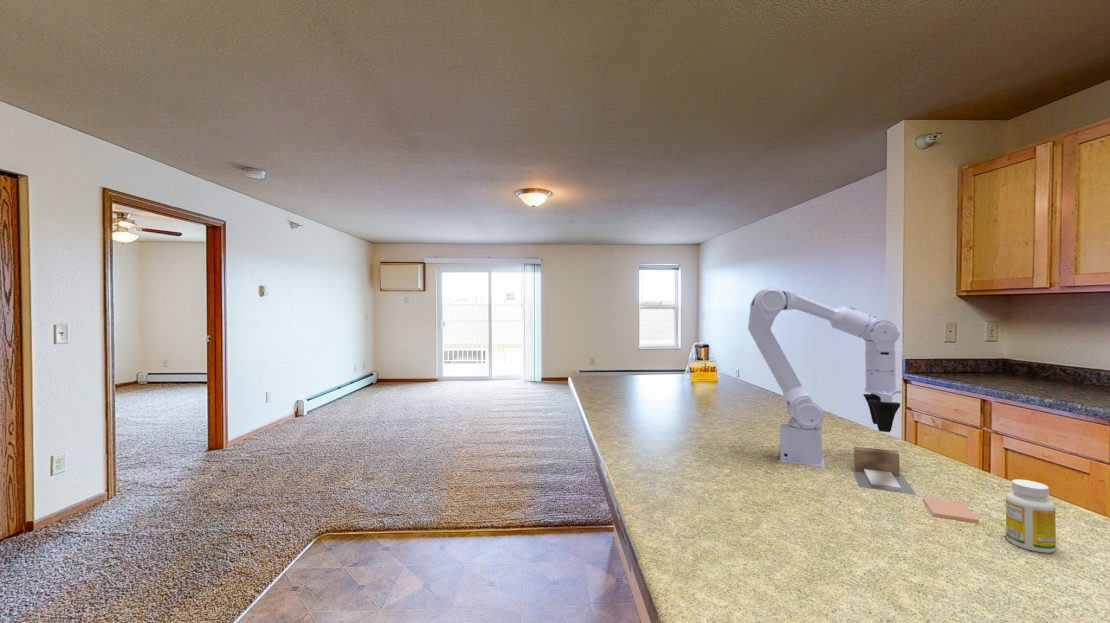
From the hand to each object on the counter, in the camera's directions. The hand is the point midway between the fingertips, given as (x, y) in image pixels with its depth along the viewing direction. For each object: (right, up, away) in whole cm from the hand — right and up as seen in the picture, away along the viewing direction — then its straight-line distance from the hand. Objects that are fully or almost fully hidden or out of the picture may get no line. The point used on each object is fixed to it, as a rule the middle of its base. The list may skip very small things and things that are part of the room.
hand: (881, 427), depth 106 cm
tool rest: (-7, -9, -9) cm, 15 cm away
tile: (-4, -9, -21) cm, 23 cm away
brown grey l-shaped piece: (-7, -9, -8) cm, 14 cm away
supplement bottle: (-3, -9, -36) cm, 37 cm away
